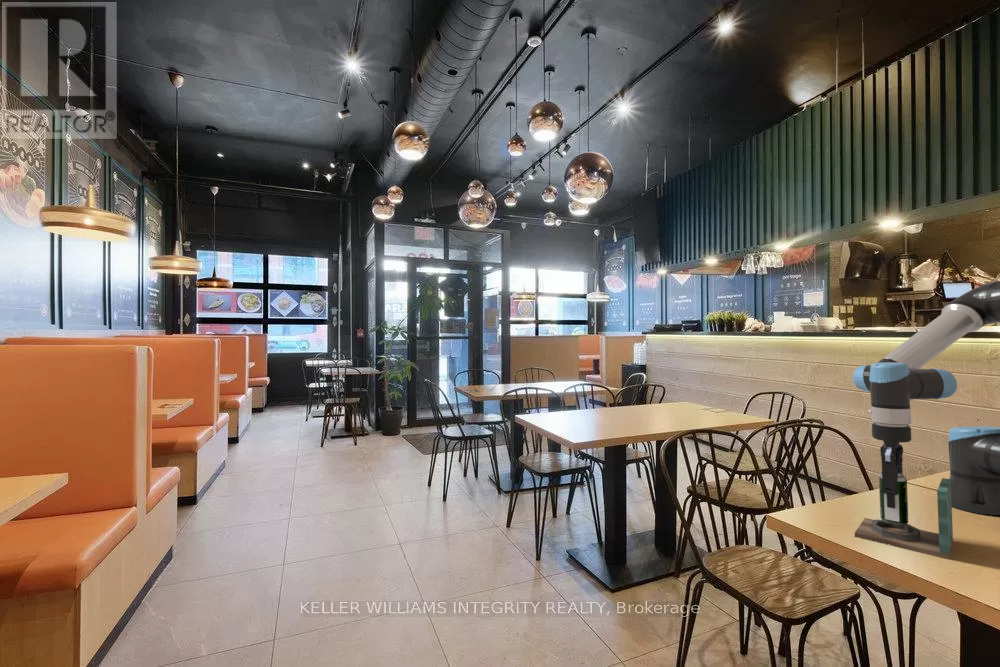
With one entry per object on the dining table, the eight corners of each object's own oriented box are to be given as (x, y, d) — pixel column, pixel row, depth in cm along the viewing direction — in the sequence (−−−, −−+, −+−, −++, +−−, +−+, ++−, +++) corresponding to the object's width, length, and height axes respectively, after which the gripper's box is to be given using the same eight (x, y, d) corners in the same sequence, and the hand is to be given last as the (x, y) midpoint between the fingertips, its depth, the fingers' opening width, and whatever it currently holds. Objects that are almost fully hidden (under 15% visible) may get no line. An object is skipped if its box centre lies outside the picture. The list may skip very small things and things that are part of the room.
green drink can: (883, 524, 113) (881, 475, 113) (878, 516, 118) (876, 470, 118) (911, 528, 111) (909, 478, 111) (905, 520, 115) (903, 472, 115)
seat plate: (865, 521, 124) (862, 466, 124) (953, 540, 111) (950, 479, 111) (854, 536, 115) (852, 477, 115) (949, 559, 102) (946, 492, 103)
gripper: (878, 417, 123) (881, 503, 123) (864, 427, 111) (868, 523, 111) (915, 420, 118) (918, 510, 118) (905, 431, 106) (909, 532, 105)
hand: (894, 516), depth 114 cm, fingers closed on green drink can, 5 cm apart
